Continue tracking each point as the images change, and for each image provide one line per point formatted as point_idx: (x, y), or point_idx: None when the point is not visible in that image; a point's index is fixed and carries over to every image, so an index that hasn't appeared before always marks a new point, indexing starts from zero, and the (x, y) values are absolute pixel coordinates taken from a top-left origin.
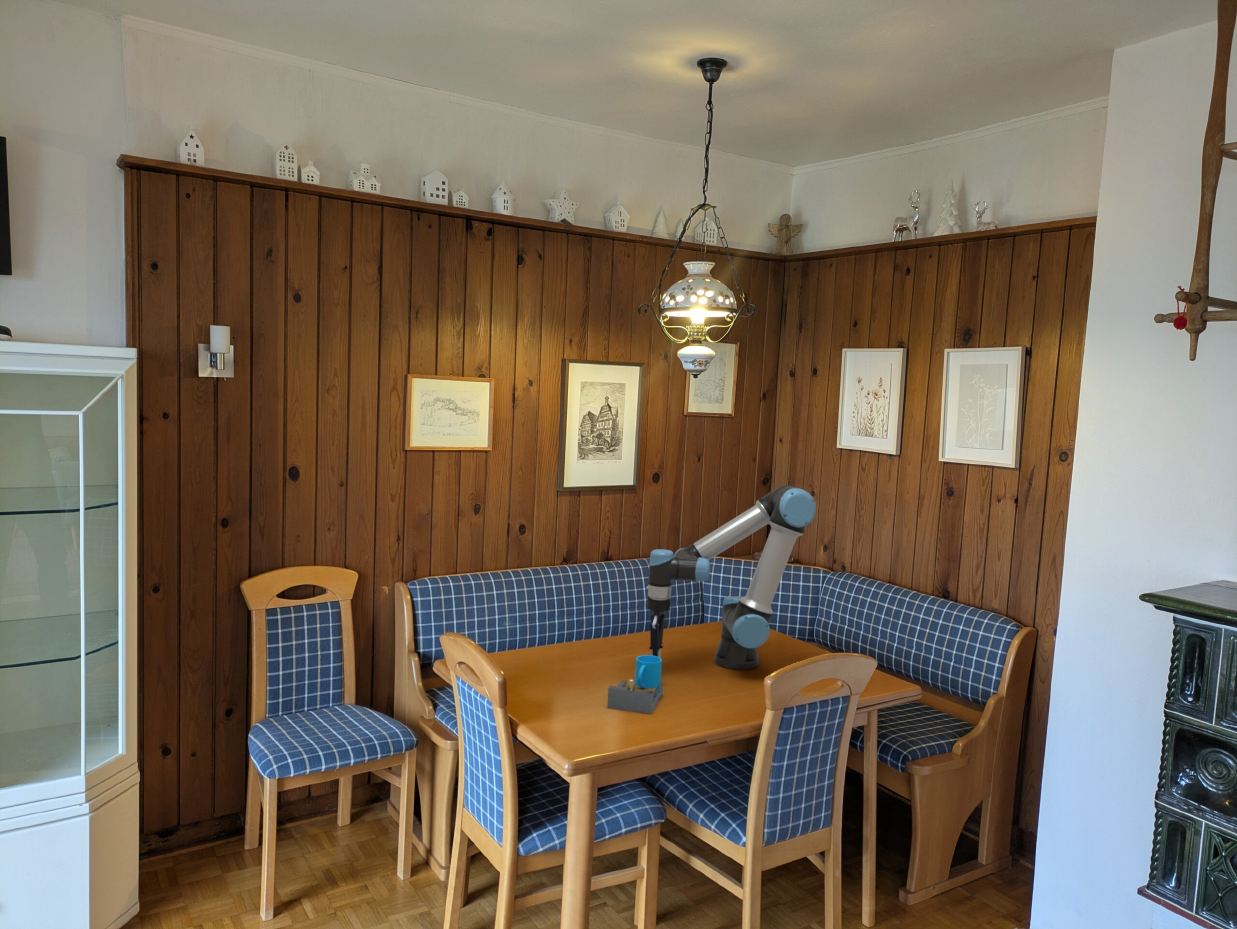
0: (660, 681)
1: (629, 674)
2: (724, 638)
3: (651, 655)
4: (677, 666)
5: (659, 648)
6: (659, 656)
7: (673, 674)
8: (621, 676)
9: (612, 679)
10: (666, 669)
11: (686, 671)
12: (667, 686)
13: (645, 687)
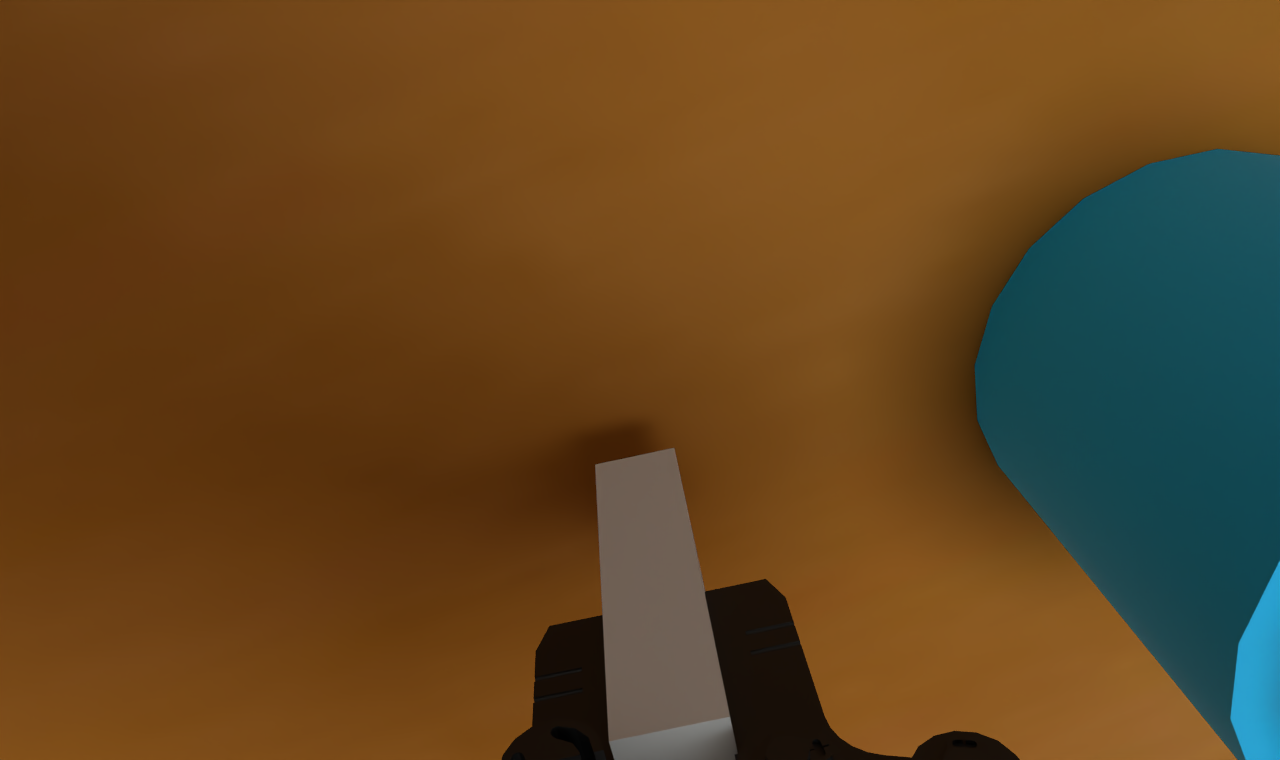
0: (1239, 174)
1: (865, 695)
2: None
3: (1232, 687)
4: (28, 330)
5: (796, 754)
6: (696, 603)
7: (487, 211)
8: (988, 728)
9: (1141, 751)
10: (325, 412)
11: (150, 70)
12: (1162, 37)
13: None
